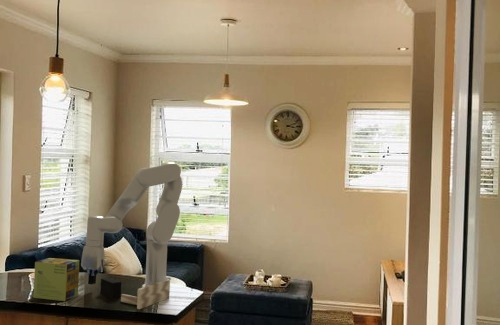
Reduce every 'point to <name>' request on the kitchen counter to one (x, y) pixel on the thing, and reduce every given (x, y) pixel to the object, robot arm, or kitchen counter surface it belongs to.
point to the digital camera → (110, 288)
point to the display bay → (149, 294)
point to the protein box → (56, 279)
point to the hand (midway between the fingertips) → (91, 283)
